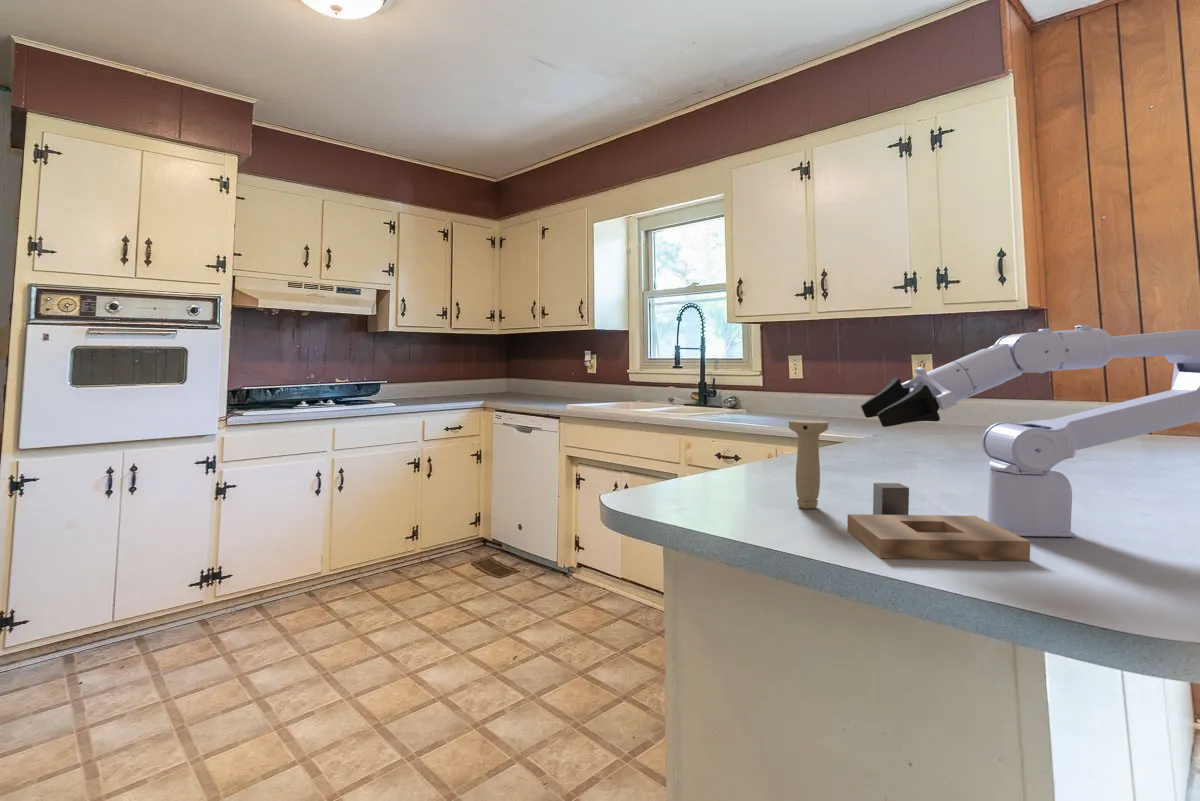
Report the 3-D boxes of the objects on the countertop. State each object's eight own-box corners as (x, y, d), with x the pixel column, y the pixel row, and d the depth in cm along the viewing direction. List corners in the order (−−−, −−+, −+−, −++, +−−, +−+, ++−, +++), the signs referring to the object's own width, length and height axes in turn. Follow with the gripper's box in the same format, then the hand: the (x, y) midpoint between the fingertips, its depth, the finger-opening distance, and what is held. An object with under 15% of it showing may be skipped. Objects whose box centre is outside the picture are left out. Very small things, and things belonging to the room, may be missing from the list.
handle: (824, 512, 94) (825, 423, 93) (785, 508, 98) (785, 422, 97) (829, 506, 98) (830, 421, 97) (791, 502, 102) (792, 419, 101)
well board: (974, 532, 82) (975, 515, 82) (1029, 560, 70) (1030, 541, 70) (847, 530, 84) (847, 514, 84) (880, 558, 72) (880, 538, 72)
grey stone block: (898, 516, 92) (899, 483, 91) (908, 522, 88) (909, 487, 88) (872, 516, 92) (873, 483, 92) (881, 522, 89) (882, 487, 88)
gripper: (929, 351, 91) (847, 386, 93) (976, 358, 76) (877, 399, 79) (946, 391, 91) (864, 424, 94) (995, 405, 77) (897, 444, 79)
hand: (871, 416), depth 86 cm, fingers open, 7 cm apart
